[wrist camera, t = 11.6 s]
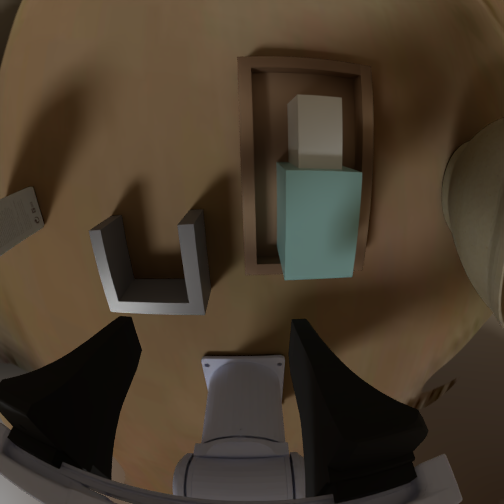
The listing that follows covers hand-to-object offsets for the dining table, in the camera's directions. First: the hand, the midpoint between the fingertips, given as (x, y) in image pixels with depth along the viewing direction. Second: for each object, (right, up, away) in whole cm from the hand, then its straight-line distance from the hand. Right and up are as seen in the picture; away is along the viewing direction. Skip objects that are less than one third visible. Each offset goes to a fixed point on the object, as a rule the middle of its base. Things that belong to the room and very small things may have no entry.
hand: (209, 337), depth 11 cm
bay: (-5, +4, +9) cm, 11 cm away
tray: (+6, +10, +7) cm, 13 cm away
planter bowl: (+23, +9, +7) cm, 25 cm away
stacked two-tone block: (+5, +9, +6) cm, 12 cm away
